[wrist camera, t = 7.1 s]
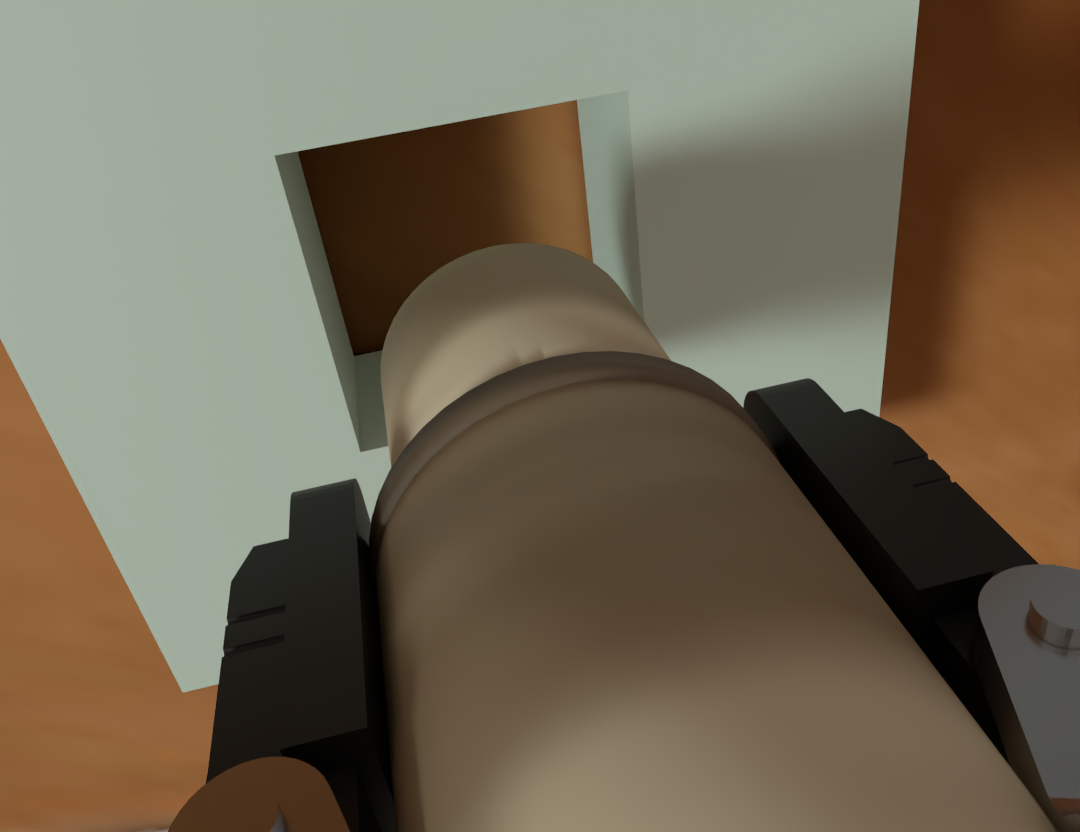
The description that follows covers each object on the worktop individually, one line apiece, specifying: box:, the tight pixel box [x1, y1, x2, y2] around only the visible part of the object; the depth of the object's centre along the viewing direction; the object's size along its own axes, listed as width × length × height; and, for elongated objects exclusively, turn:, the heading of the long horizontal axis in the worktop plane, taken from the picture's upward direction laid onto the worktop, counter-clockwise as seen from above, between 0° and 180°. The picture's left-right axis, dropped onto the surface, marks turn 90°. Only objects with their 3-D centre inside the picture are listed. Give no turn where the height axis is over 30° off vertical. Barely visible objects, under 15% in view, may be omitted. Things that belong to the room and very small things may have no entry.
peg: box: [369, 243, 1058, 832], centre depth 9 cm, size 5×5×12 cm
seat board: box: [0, 0, 920, 692], centre depth 18 cm, size 16×16×4 cm
